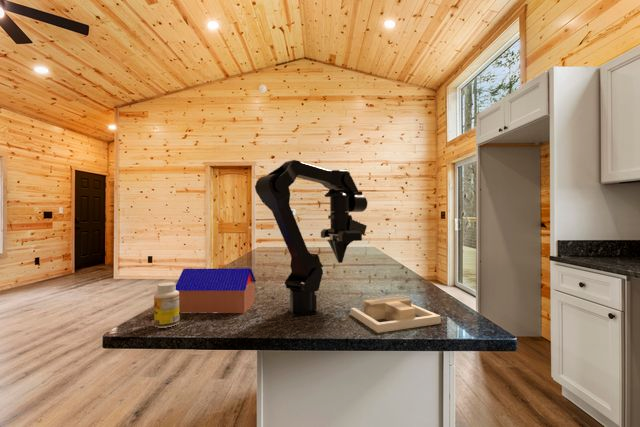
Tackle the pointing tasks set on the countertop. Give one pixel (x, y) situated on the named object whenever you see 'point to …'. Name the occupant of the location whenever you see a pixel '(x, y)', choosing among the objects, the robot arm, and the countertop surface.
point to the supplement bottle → (166, 305)
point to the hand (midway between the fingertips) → (340, 262)
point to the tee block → (389, 308)
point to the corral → (424, 320)
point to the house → (216, 290)
